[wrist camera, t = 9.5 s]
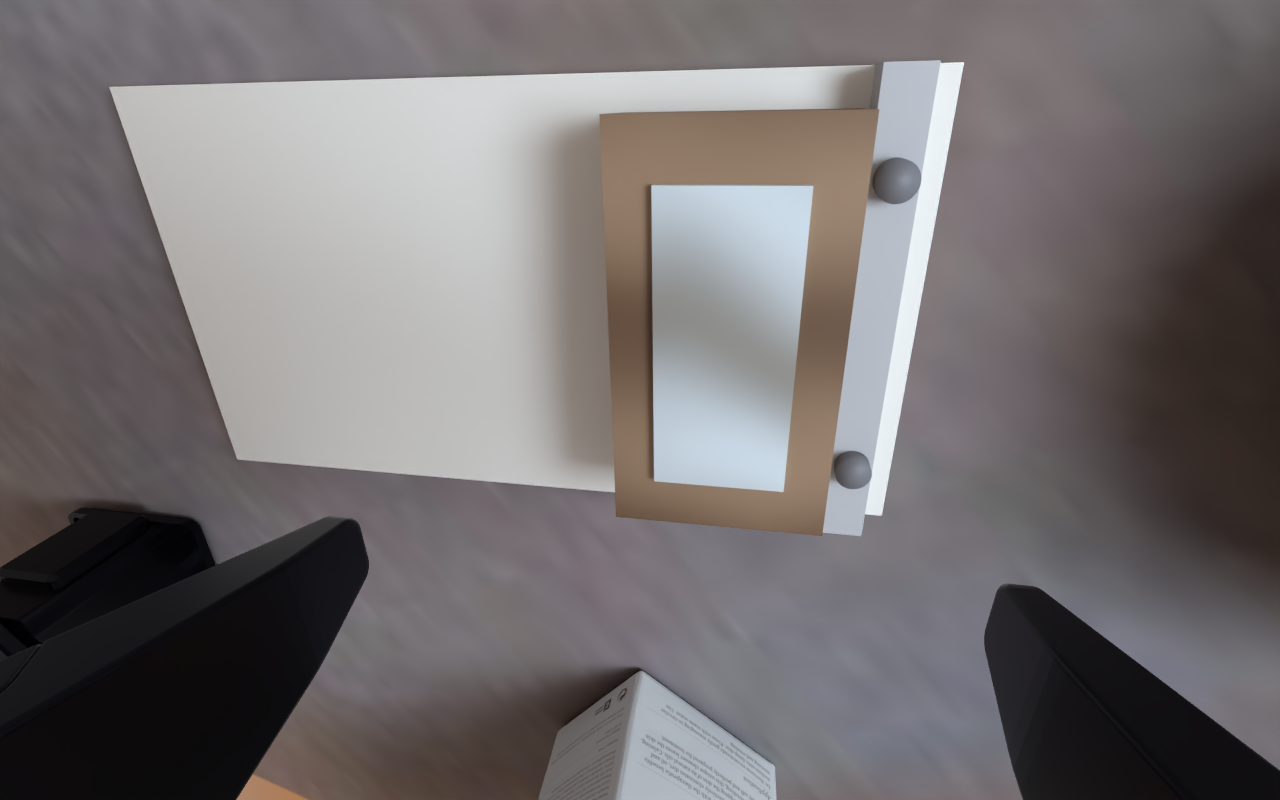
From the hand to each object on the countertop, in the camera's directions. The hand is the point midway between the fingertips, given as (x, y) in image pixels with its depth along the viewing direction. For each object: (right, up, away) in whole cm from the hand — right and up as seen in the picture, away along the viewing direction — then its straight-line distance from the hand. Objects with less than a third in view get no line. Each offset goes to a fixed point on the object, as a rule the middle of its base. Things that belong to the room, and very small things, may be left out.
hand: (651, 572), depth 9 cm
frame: (+2, +5, +10) cm, 11 cm away
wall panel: (-4, +6, +11) cm, 13 cm away
